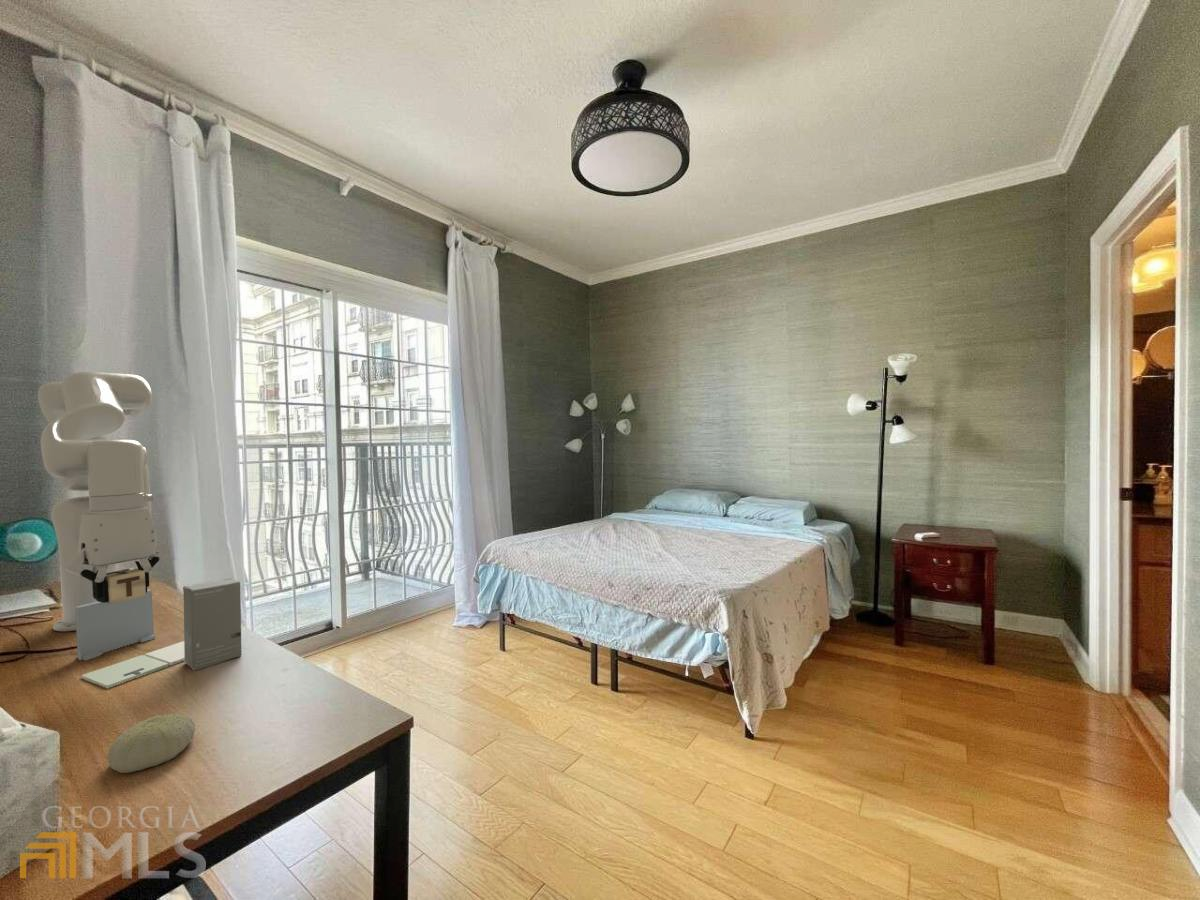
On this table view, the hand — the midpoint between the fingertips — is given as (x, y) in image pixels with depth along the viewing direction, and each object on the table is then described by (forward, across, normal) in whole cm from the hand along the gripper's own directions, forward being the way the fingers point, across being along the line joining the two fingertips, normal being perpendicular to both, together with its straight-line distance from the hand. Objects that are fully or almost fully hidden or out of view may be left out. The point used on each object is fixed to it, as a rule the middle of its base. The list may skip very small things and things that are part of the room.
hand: (122, 595), depth 92 cm
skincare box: (+15, -10, +10) cm, 21 cm away
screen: (+15, -5, -17) cm, 23 cm away
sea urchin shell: (+16, +11, +36) cm, 41 cm away
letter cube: (+1, 0, 0) cm, 1 cm away
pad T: (+15, 0, 0) cm, 15 cm away
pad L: (+15, -10, 0) cm, 18 cm away
